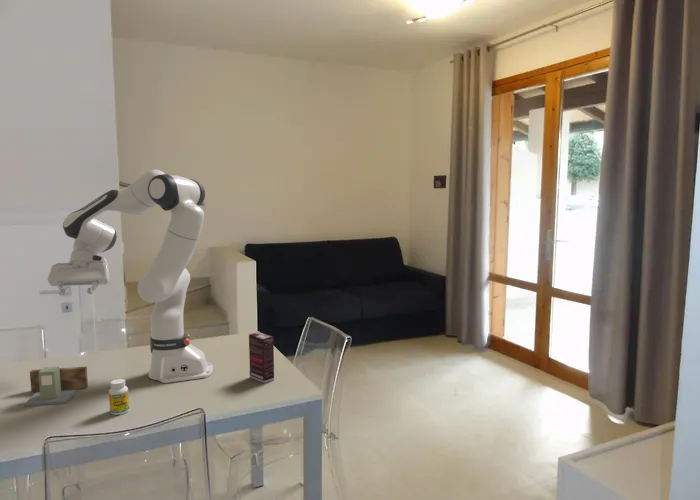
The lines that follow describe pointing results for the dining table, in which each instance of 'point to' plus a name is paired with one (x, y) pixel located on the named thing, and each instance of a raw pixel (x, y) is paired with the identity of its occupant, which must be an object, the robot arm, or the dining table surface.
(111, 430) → the dining table surface
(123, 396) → the supplement bottle
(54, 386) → the olive letter block
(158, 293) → the robot arm
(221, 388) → the dining table surface
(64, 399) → the display mat
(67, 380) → the walnut screen
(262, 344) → the supplement box
